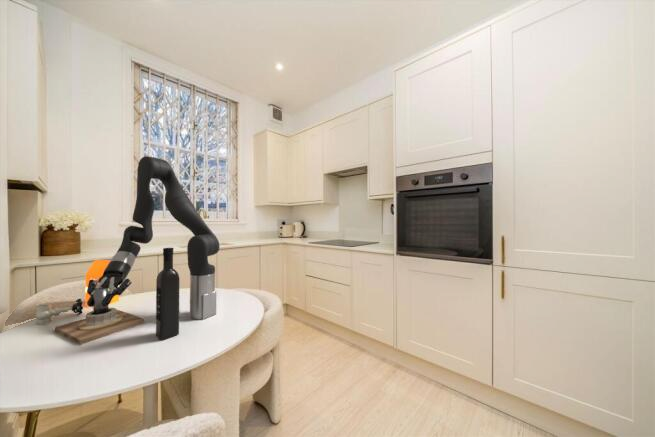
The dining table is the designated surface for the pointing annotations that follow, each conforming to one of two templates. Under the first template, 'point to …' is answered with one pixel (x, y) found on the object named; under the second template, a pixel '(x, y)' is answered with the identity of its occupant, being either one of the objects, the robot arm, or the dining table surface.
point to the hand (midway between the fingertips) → (97, 305)
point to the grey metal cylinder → (100, 300)
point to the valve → (55, 312)
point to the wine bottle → (167, 298)
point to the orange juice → (97, 276)
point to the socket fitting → (98, 325)
